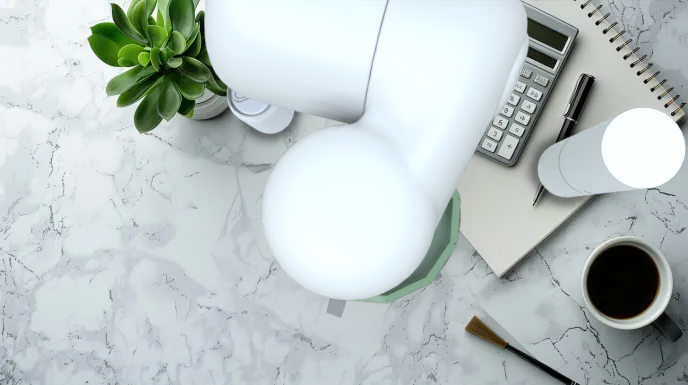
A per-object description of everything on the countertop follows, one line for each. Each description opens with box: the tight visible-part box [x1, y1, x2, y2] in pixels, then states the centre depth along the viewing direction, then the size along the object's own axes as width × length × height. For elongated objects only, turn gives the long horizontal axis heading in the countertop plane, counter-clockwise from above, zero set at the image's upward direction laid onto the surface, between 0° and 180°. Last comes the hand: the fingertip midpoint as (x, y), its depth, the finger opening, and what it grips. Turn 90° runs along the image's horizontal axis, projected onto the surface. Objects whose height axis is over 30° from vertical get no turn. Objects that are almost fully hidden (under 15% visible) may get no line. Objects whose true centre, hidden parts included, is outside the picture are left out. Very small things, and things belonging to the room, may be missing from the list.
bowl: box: [350, 187, 462, 305], centre depth 54 cm, size 15×15×5 cm
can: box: [226, 86, 295, 135], centre depth 77 cm, size 6×6×12 cm
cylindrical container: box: [537, 107, 686, 198], centre depth 67 cm, size 7×7×25 cm
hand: (372, 214), depth 54 cm, fingers closed on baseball, 7 cm apart
